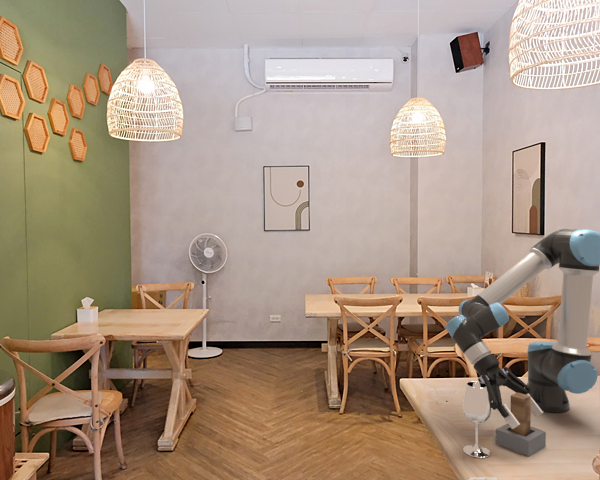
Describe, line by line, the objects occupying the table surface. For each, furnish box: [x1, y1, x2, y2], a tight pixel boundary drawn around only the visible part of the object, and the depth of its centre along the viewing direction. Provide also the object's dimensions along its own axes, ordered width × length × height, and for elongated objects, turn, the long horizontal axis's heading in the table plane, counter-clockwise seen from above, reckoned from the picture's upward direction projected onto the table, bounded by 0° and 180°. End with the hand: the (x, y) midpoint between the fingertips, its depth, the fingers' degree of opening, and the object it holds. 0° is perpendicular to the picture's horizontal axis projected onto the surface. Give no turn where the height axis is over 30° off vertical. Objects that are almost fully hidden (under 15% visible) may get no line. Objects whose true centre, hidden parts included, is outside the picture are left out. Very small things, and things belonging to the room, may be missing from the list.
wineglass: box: [462, 380, 492, 459], centre depth 136 cm, size 8×8×20 cm
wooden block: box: [510, 392, 532, 437], centre depth 140 cm, size 4×4×14 cm
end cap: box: [495, 422, 547, 457], centre depth 140 cm, size 10×10×4 cm
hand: (528, 420), depth 138 cm, fingers open, 13 cm apart
